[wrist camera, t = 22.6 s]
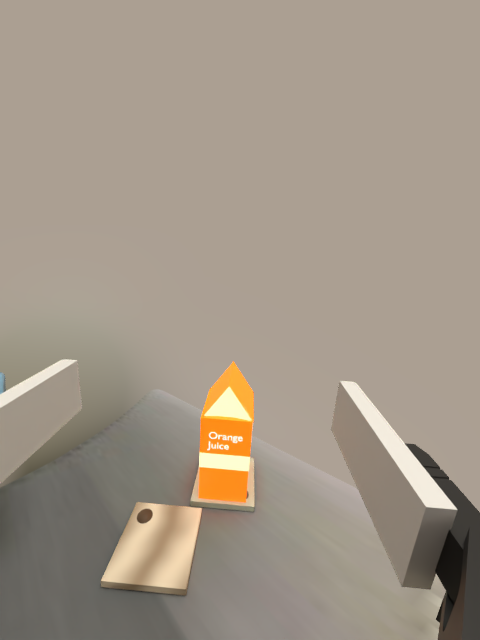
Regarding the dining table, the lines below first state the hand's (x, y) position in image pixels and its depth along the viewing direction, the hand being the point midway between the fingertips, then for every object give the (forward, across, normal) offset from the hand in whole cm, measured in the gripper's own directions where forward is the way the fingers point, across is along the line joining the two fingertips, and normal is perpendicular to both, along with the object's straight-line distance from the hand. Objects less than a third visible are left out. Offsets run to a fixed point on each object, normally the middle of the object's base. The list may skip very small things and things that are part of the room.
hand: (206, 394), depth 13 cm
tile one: (+15, -8, -32) cm, 36 cm away
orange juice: (+26, 0, -31) cm, 40 cm away
